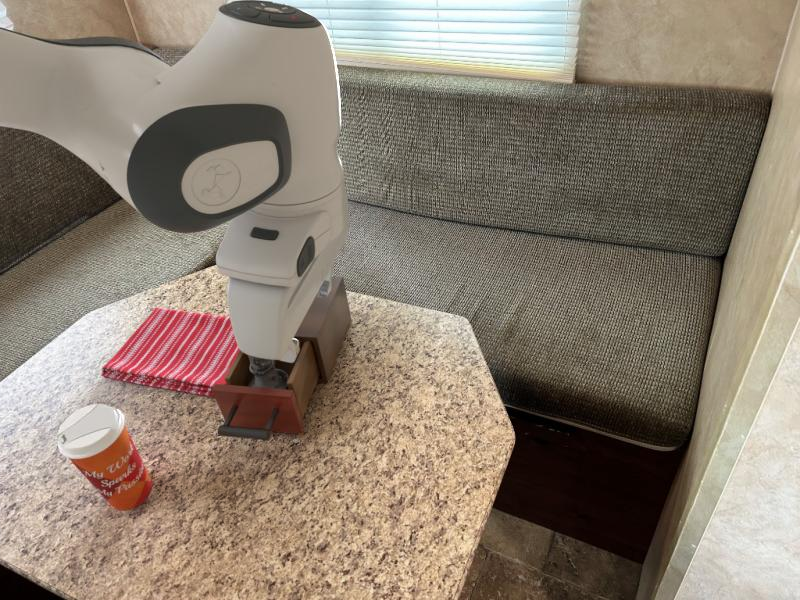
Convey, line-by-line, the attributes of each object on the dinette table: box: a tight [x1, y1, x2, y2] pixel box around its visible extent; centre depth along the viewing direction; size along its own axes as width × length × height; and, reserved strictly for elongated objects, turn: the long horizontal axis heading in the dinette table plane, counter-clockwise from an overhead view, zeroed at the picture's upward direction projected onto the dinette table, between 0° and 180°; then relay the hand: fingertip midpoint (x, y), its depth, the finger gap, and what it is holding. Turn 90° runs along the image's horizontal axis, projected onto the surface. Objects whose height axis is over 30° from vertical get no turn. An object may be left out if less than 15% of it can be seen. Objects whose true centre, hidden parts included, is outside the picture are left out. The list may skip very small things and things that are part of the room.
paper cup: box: [57, 403, 153, 511], centre depth 77 cm, size 8×8×14 cm
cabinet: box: [293, 275, 352, 384], centre depth 97 cm, size 15×13×10 cm
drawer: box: [212, 340, 321, 441], centre depth 87 cm, size 18×11×8 cm, turn 169°
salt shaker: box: [248, 355, 289, 390], centre depth 85 cm, size 6×6×12 cm
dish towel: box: [100, 307, 240, 398], centre depth 100 cm, size 17×24×3 cm
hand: (306, 323), depth 61 cm, fingers open, 8 cm apart
